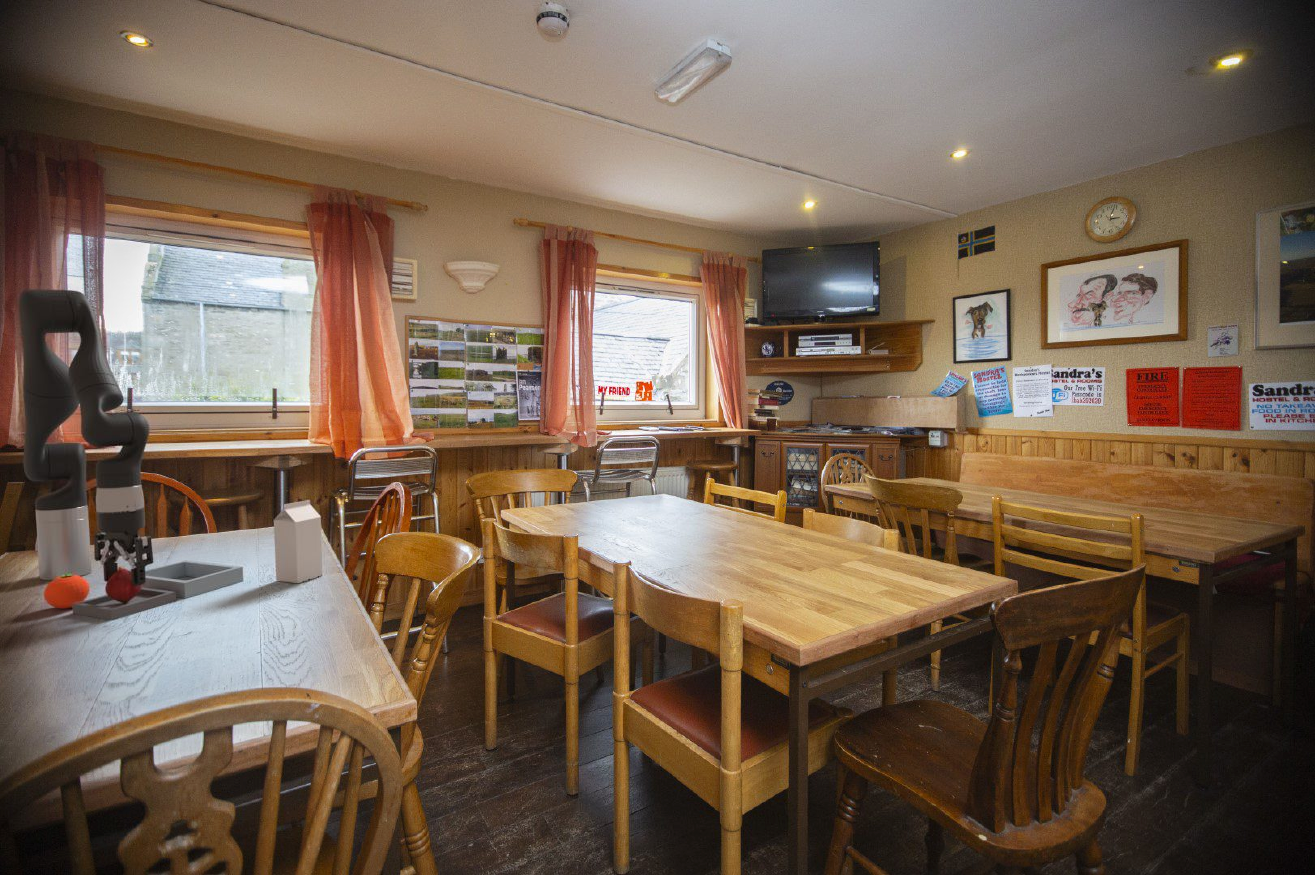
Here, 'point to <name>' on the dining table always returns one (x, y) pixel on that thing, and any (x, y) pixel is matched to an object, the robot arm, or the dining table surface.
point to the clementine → (66, 591)
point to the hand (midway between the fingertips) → (125, 582)
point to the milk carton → (298, 543)
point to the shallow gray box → (207, 572)
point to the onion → (121, 586)
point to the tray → (123, 604)
